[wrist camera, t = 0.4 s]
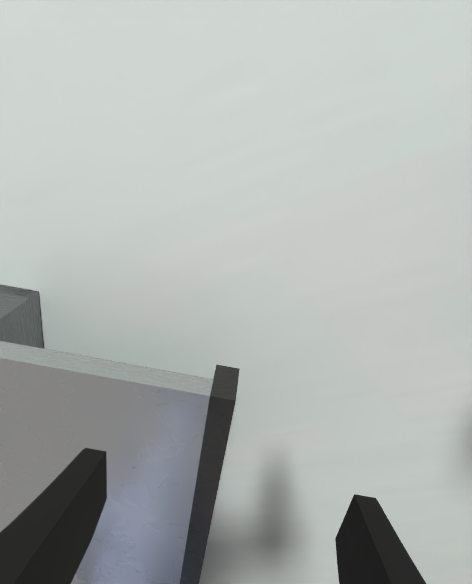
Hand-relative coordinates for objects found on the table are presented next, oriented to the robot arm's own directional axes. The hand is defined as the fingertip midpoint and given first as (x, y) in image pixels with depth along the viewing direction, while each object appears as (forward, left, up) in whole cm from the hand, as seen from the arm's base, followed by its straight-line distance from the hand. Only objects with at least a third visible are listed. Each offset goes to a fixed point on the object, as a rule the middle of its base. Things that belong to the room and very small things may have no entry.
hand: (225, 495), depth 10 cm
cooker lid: (-8, +8, -6) cm, 13 cm away
